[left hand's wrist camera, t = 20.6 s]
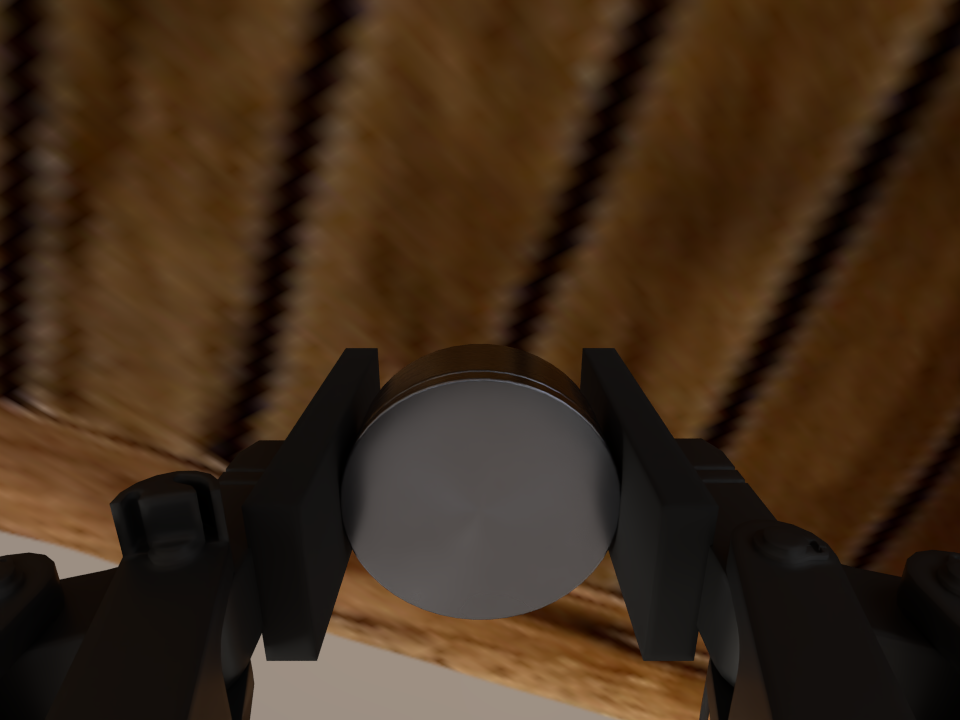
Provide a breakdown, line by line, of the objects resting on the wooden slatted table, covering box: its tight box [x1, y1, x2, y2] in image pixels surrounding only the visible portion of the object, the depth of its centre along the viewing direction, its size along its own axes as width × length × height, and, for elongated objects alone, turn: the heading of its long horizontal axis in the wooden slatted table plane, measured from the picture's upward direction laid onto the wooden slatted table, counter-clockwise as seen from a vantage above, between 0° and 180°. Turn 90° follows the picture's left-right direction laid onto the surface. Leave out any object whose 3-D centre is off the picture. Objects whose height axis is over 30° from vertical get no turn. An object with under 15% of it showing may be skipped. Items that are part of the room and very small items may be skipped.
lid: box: [340, 344, 621, 620], centre depth 11 cm, size 5×5×2 cm
